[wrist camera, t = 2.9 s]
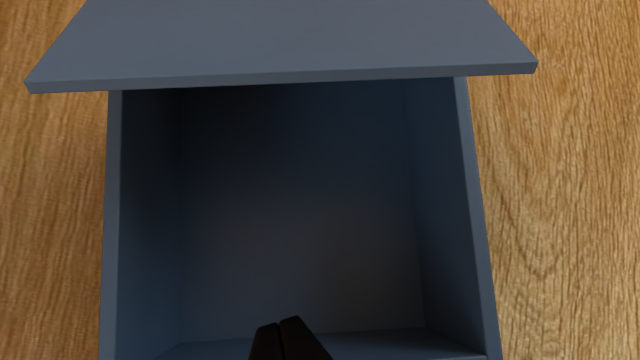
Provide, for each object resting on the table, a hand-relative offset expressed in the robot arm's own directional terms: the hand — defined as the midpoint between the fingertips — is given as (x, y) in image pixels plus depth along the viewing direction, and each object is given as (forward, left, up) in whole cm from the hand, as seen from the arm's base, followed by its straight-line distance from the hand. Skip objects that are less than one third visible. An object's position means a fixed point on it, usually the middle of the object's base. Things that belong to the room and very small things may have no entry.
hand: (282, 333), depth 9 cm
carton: (+4, 0, -12) cm, 13 cm away
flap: (+8, 0, -3) cm, 9 cm away
